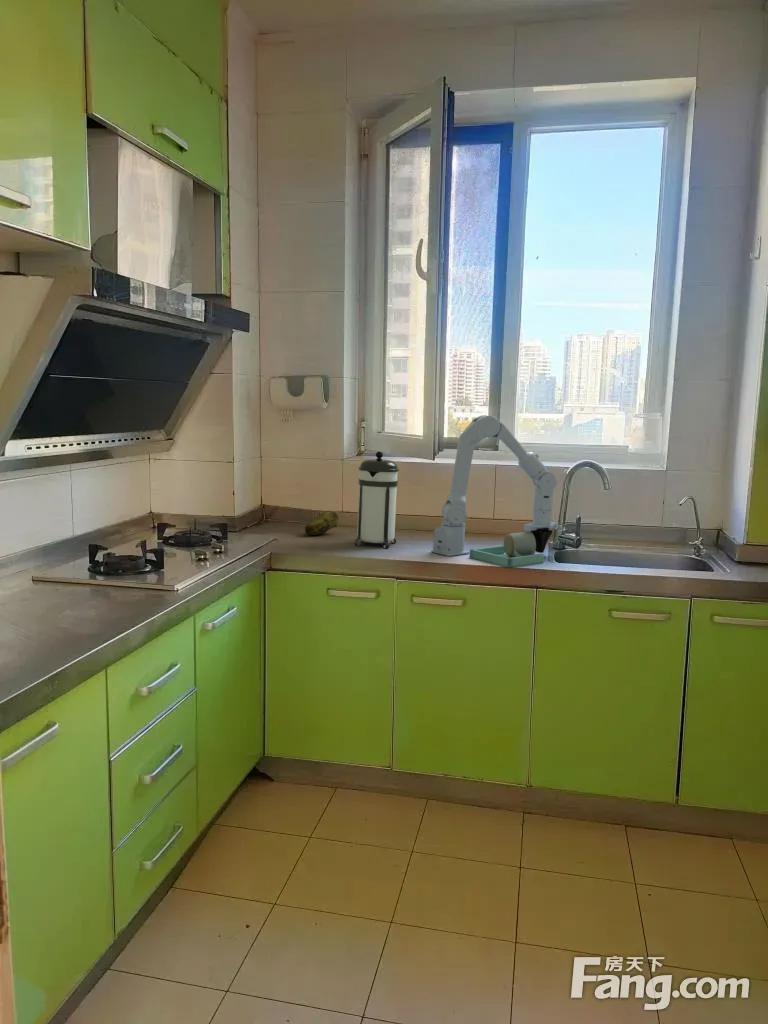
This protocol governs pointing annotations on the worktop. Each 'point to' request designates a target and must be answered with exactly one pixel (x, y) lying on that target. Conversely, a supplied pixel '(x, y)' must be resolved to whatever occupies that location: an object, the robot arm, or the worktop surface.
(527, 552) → the ceramic mug
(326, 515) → the olive green rounded lump
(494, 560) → the tray
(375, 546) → the worktop surface
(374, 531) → the coffee press
